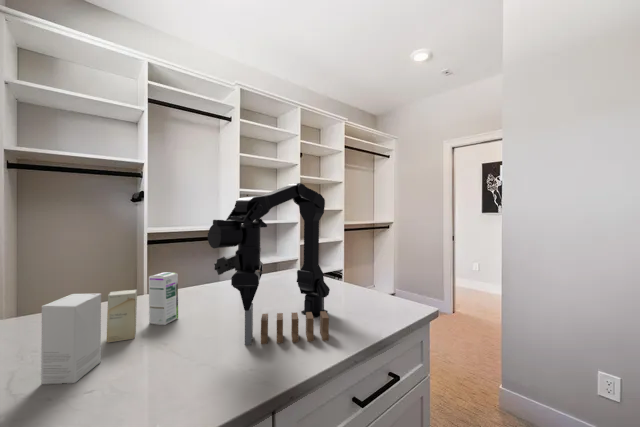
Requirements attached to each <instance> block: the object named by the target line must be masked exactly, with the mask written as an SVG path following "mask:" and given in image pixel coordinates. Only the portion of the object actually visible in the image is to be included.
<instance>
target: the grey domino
mask: <svg viewBox="0 0 640 427" xmlns="http://www.w3.org/2000/svg"><path fill="white" fill-rule="evenodd" d="M253 309H254V303H253V302H252V304H251V306H250V309H249V311H245V310H244V346H246V345H247V346H248V345H252V341H253V335H254V334H253V333H254V332H253V330H254V322H253V321H254V319H253V318H254V310H253Z"/></svg>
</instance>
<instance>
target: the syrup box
mask: <svg viewBox="0 0 640 427" xmlns="http://www.w3.org/2000/svg"><path fill="white" fill-rule="evenodd" d="M148 309H149V310H148V315H149V316H148V321H149V324H150V325H151V324H152V325H160V326H166V325H168V324H169V323H171V322H174V321H175V320H177V319H179V274H178V273H177V272H172V271H171V272H170V271H168V272H167V271H166V272H165V271H164V272H161V273H160V272H159V273H157V274H154V275H149V276H148Z"/></svg>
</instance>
